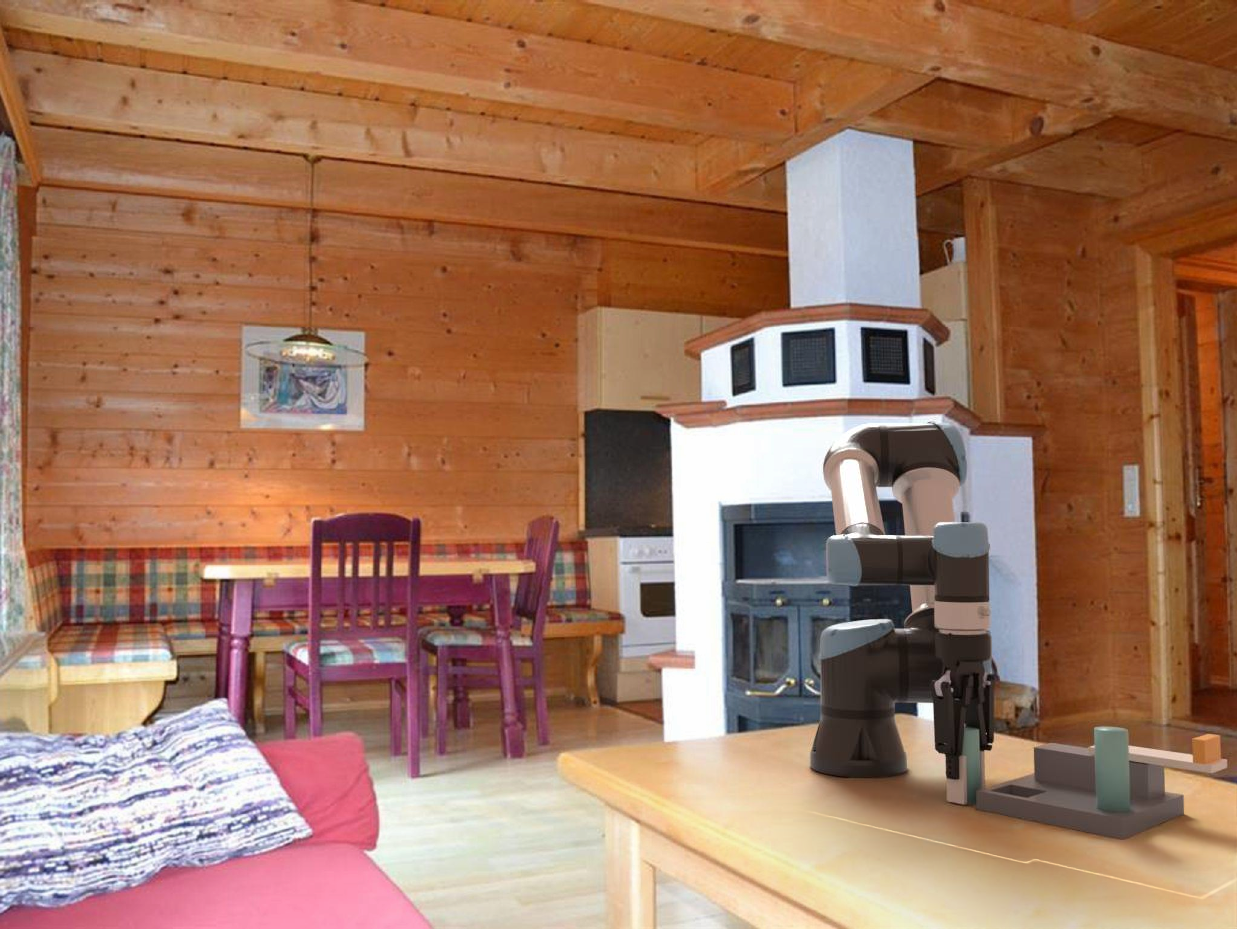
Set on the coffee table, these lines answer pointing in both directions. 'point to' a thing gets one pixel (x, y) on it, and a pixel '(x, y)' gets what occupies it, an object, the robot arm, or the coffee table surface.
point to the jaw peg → (972, 762)
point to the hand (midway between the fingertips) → (966, 799)
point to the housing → (1088, 789)
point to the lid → (1182, 755)
